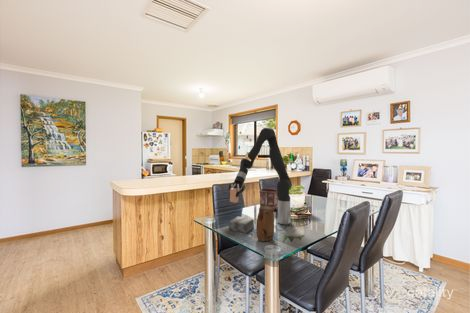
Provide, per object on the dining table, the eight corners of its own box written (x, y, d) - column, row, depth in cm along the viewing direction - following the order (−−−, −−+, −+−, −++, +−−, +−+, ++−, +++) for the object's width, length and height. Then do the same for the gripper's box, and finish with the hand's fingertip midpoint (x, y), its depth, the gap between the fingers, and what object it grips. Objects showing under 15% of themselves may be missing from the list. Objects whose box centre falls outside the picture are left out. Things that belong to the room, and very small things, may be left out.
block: (265, 235, 148) (266, 204, 147) (275, 239, 142) (275, 207, 141) (254, 239, 140) (255, 207, 140) (263, 243, 135) (264, 210, 134)
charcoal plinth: (253, 227, 162) (253, 218, 162) (246, 233, 151) (246, 224, 151) (237, 224, 169) (237, 216, 168) (228, 229, 157) (229, 220, 157)
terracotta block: (238, 201, 175) (238, 188, 175) (235, 202, 171) (235, 189, 171) (232, 200, 178) (232, 188, 177) (229, 201, 174) (230, 188, 173)
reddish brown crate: (266, 212, 199) (266, 192, 199) (255, 207, 215) (256, 189, 215) (282, 211, 207) (283, 191, 206) (271, 206, 223) (272, 188, 222)
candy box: (310, 213, 201) (310, 194, 201) (311, 215, 195) (312, 196, 195) (294, 212, 202) (294, 194, 202) (295, 214, 197) (295, 195, 196)
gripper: (231, 175, 184) (223, 192, 174) (247, 176, 177) (240, 194, 167) (234, 180, 189) (226, 197, 178) (249, 182, 182) (243, 200, 172)
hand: (233, 196), depth 173 cm, fingers closed on terracotta block, 5 cm apart
